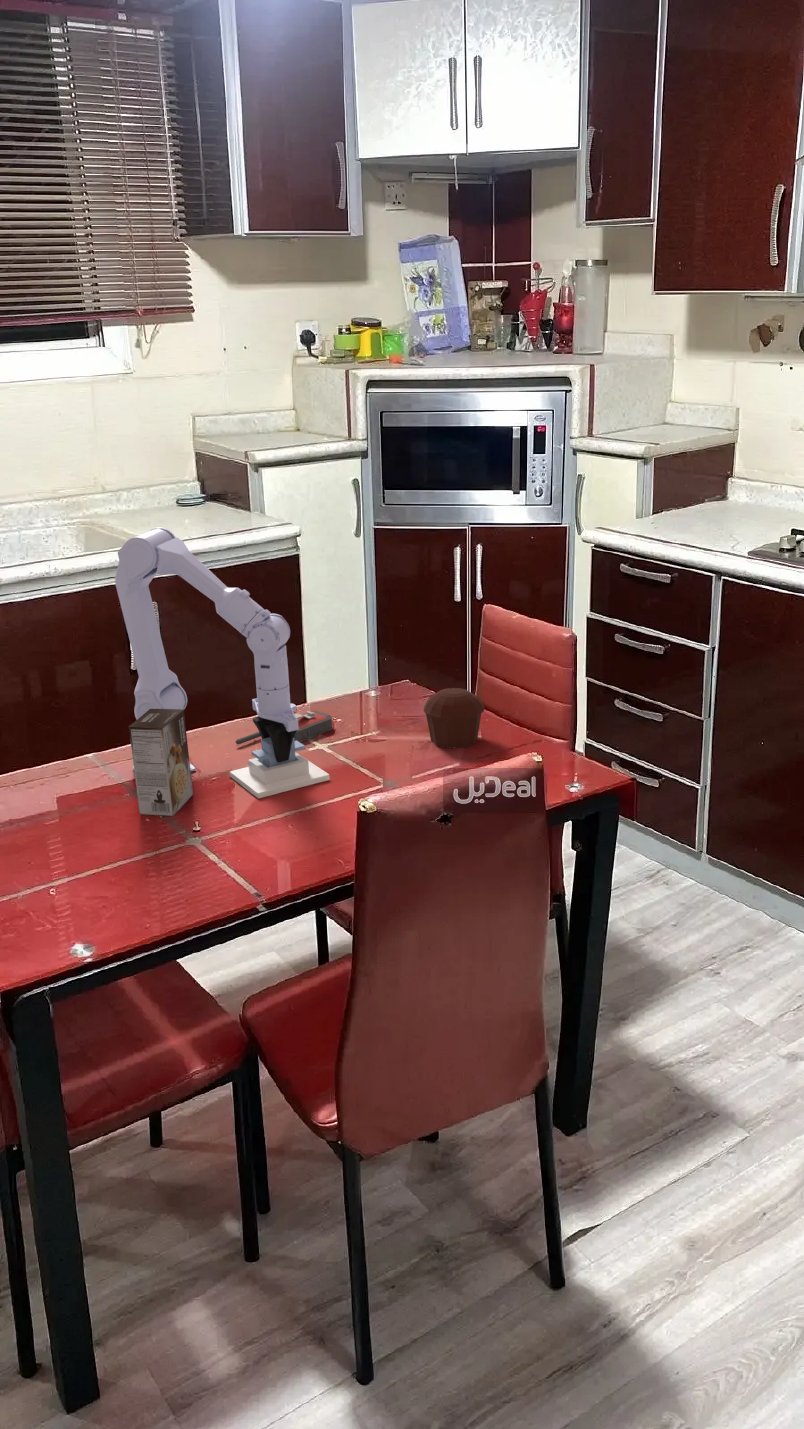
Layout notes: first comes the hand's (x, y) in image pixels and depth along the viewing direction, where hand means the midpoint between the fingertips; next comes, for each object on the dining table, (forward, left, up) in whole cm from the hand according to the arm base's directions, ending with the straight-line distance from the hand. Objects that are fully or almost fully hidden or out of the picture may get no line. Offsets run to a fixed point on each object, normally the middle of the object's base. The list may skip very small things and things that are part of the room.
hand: (278, 757), depth 207 cm
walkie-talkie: (+10, +18, -5) cm, 21 cm away
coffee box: (-21, +1, -4) cm, 21 cm away
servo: (0, 0, -2) cm, 2 cm away
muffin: (+36, -3, -4) cm, 36 cm away
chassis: (0, 0, -4) cm, 4 cm away
